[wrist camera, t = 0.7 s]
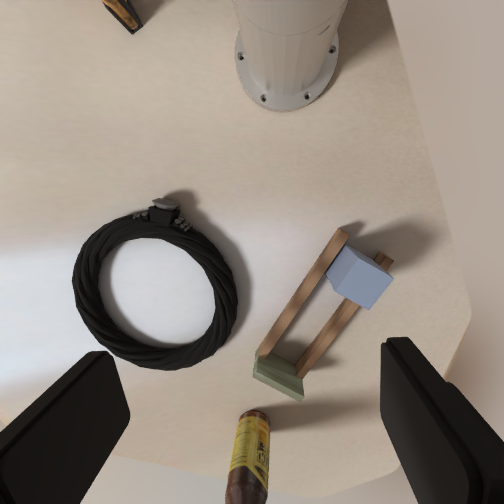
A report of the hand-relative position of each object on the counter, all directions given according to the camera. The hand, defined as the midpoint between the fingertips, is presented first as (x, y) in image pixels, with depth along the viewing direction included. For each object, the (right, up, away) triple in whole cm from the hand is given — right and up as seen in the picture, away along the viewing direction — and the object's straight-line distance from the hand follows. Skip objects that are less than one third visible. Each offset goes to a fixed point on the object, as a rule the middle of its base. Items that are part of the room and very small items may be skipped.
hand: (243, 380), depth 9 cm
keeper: (+15, +3, +30) cm, 34 cm away
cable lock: (-15, -1, +35) cm, 38 cm away
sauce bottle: (+1, -28, +40) cm, 49 cm away
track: (+11, -4, +32) cm, 34 cm away
